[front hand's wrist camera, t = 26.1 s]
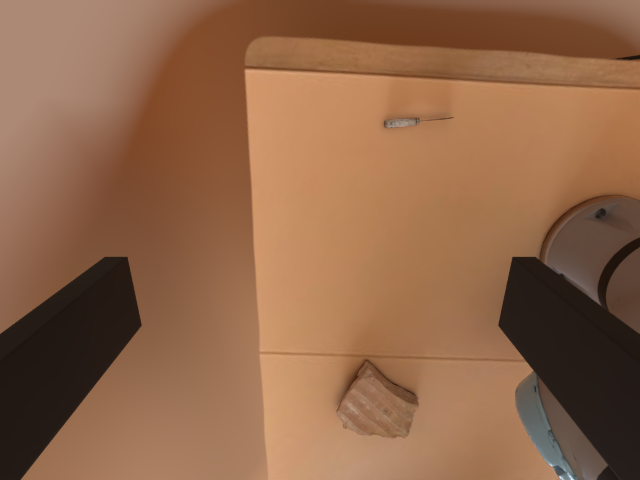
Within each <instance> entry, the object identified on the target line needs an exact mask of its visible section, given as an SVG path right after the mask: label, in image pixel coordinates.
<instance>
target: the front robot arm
mask: <svg viewBox="0 0 640 480" xmlns="http://www.w3.org/2000/svg"><path fill="white" fill-rule="evenodd" d="M637 59H640V55H636V56H629V57H622V58H615V59H609V60H626V61H629V60H637ZM498 326H499V327H500V328H501V330H502V331H503V332H504V333H505V335H506V336H507V337H508V339H509V340H510V341H511V342H512V344H513V345H514V346H515V347H516V349H517V350H518V351H519V353H520V354H521V355H522V356H523V358H524V359H525V360H526V361H527V363H528V364H529V365H530V367H531V368H532V369H533V370H534V371H533V372H532V373H531V374H530V375H529V376H528V377H526V378H525V379H524V380H523V381H522V382H521V383H520V384H519V385H518V386H517V388H516V392H515V404H516V408H517V411H518V414H519V417H520V419H521V421H522V423H523V425H524V427H525V429H526V431H527V433H528V435H529V436H530V438H531V440H532V442H533V443H534V445H535V446H536V448H537V449H538V451H539V452H540V454H541V455H542V457H543V458H544V459H545V461H546V462H547V463H548V464H549V465H550V466H552V467H553V468H554V470H555V472H556V473H557V475H558V477H559V478H560V479H561V480H640V201H639V200H636V199H633V198H629V197H626V196H618V195H609V196H602V197H597V198H594V199H590V200H588V201H585V202H583V203H581V204H579V205H577V206H576V207H574V208H573V209H571V210H570V211H568V212H567V213H566V214H565V215H563V216H562V217H561V218H560V219H559V220H558V221H557V222H556V223H555V225H554V226H553V227H552V229H551V230H550V232H549V233H548V235H547V237H546V239H545V241H544V243H543V246H542V250H541V255H540V260H539V259H537V258H536V257H512V262H511V267H510V272H509V277H508V281H507V286H506V291H505V296H504V301H503V305H502V310H501V315H500V320H499V325H498ZM140 327H141V320H140V315H139V310H138V306H137V301H136V296H135V291H134V286H133V282H132V277H131V272H130V267H129V262H128V258H127V257H104V258H103V259H102V260H100V261H99V262H97V263H96V264H95V265H93V266H92V267H91V268H89V269H88V270H87V271H85V272H84V273H83V274H81V275H80V276H78V277H77V278H76V279H74V280H73V281H72V282H70V283H69V284H68V285H66V286H65V287H63V288H62V289H61V290H59V291H58V292H57V293H55V294H54V295H53V296H51V297H50V298H49V299H47V300H46V301H44V302H43V303H42V304H40V305H39V306H38V307H36V308H35V309H34V310H32V311H31V312H30V313H28V314H27V315H25V316H24V317H23V318H21V319H20V320H19V321H17V322H16V323H15V324H13V325H12V326H11V327H9V328H8V329H7V330H5V331H4V332H2V333H1V334H0V480H21V478H22V477H23V476H24V475H25V473H26V472H27V471H28V470H29V468H30V467H31V466H32V465H33V463H34V462H35V461H36V459H37V458H38V457H39V456H40V454H41V453H42V452H43V451H44V449H45V448H46V447H47V445H48V444H49V443H50V442H51V440H52V439H53V438H54V437H55V435H56V434H57V433H58V431H59V430H60V429H61V428H62V426H63V425H64V424H65V423H66V421H67V420H68V419H69V417H70V416H71V415H72V414H73V412H74V411H75V410H76V409H77V407H78V406H79V405H80V403H81V402H82V401H83V400H84V398H85V397H86V396H87V394H88V393H89V392H90V391H91V389H92V388H93V387H94V386H95V384H96V383H97V382H98V381H99V379H100V378H101V377H102V375H103V374H104V373H105V372H106V370H107V369H108V368H109V367H110V365H111V364H112V363H113V361H114V360H115V359H116V358H117V356H118V355H119V354H120V353H121V351H122V350H123V349H124V347H125V346H126V345H127V344H128V342H129V341H130V340H131V338H132V337H133V336H134V335H135V333H136V332H137V331H138V330H139V328H140Z"/></svg>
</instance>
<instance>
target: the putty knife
mask: <svg viewBox="0 0 640 480" xmlns="http://www.w3.org/2000/svg"><path fill="white" fill-rule="evenodd" d="M451 118H454V117H451ZM451 118H443V119H451ZM443 119H433V120H443ZM423 121H431V120H423ZM419 122H420V121H419V118H402V119H391V120H385V121H384V126H385V128H393V127H404V126H414V125H417V124H419Z"/></svg>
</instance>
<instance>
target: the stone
mask: <svg viewBox="0 0 640 480" xmlns="http://www.w3.org/2000/svg"><path fill="white" fill-rule="evenodd" d="M418 407H419V404H418V397H417V396H415V395H413V394H411V393H410V392H407V391H405V390H404V389H402V388H401V387H400V386H397V385H394V384H392V383H391V382H389V381H387V379H385V378H384V377H383V376H382V375H381V373H380V372H379V371H378V370H377V369H376V368H375V367H374V366H373V365H372V364H371V363H370V362H369V361H365V364H364V365H363V367H362V368H361V369H360V370H359V372H358V378H357V379H356V380H355V381H354V382H353V384H352V385H351V387H350V389H349V390H348V391H347V392H346V393H345V394H344V396H343V398H342V400H341V402H340V405H339V407H338V409H337V412H336V413H337V415H338V417H339V418H340V419H341V420H342V421H343V428H348V429H350V430H353V431H354V432H356V433H357V434H359V435H369V436H370V435H374V434H375V435H380V436H382V437H386V438H396V437H398V436H399V437H403V438H406V437H407V436H408V434H409V431H410V427H411V424H412V420H413V416H414V412H415V411H416V409H418Z"/></svg>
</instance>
